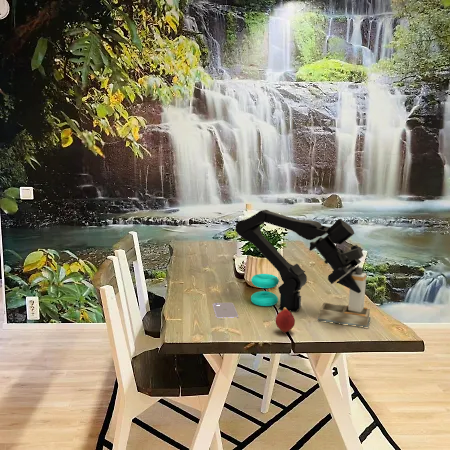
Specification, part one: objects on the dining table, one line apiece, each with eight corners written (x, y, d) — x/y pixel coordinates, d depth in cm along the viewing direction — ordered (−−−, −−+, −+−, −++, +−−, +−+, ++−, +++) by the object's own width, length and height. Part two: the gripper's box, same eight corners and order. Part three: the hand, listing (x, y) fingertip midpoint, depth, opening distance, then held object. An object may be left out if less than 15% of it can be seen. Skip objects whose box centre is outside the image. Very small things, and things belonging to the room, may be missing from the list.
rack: (317, 321, 151) (318, 309, 150) (322, 312, 159) (323, 301, 158) (367, 328, 145) (368, 316, 144) (370, 319, 153) (371, 307, 152)
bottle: (348, 309, 149) (351, 268, 147) (351, 306, 152) (354, 265, 150) (360, 312, 147) (363, 270, 145) (363, 308, 150) (367, 267, 148)
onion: (292, 328, 143) (293, 304, 142) (295, 336, 138) (296, 311, 136) (273, 328, 143) (274, 304, 142) (276, 336, 138) (277, 310, 136)
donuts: (246, 277, 164) (258, 271, 173) (245, 304, 166) (258, 296, 174) (271, 281, 159) (283, 275, 168) (270, 309, 161) (282, 301, 169)
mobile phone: (216, 317, 150) (212, 302, 165) (216, 320, 151) (212, 304, 165) (239, 316, 151) (233, 301, 166) (239, 319, 152) (232, 304, 166)
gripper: (340, 242, 140) (374, 283, 136) (356, 234, 156) (387, 270, 152) (314, 263, 145) (346, 303, 142) (332, 253, 161) (361, 288, 157)
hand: (361, 290), depth 148 cm, fingers closed on bottle, 4 cm apart
